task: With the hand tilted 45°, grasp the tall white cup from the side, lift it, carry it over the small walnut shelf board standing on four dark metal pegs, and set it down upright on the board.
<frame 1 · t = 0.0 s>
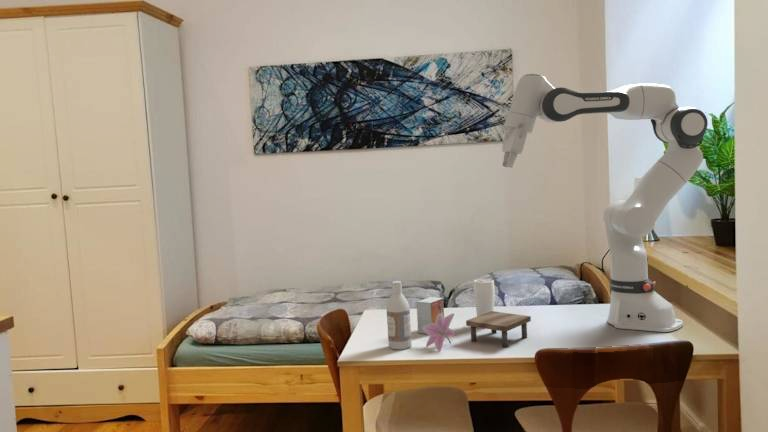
hand: (506, 167, 212), 52 cm above the table, tool tilted 20°, fingers open, 8 cm apart
shelf stand: (499, 339, 204), on the table
bath foam: (400, 347, 202), on the table
lily: (440, 347, 201), on the table
white tall cup: (485, 325, 222), on the table
small box: (431, 331, 218), on the table
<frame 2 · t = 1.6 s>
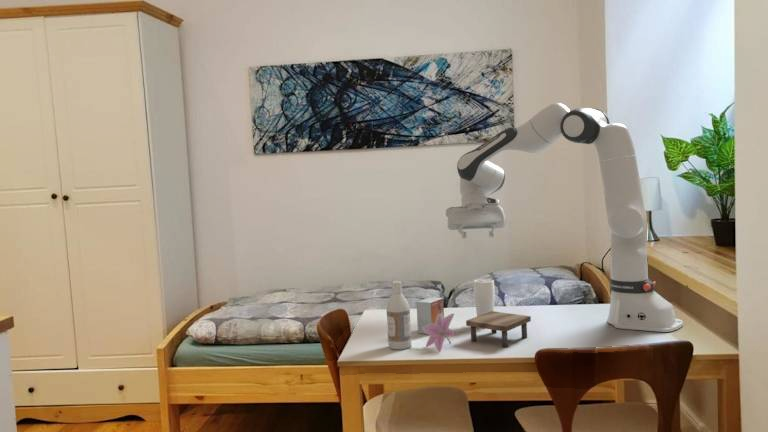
hand: (478, 236, 232), 28 cm above the table, tool tilted 45°, fingers open, 8 cm apart
nothing on the table moved.
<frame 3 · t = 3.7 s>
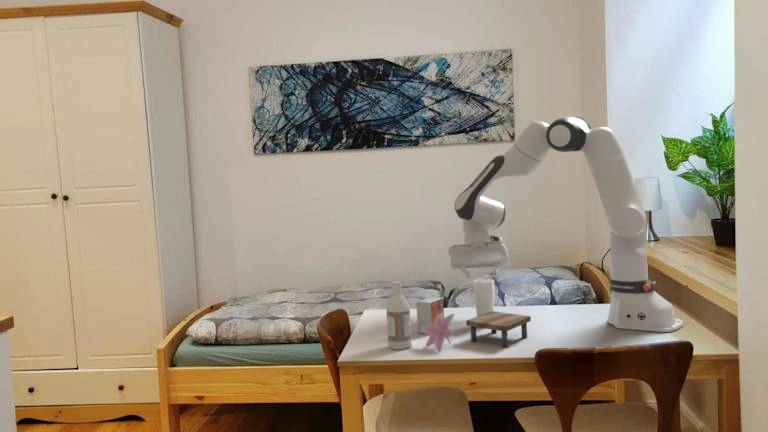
hand: (481, 276, 229), 15 cm above the table, tool tilted 45°, fingers open, 8 cm apart
nothing on the table moved.
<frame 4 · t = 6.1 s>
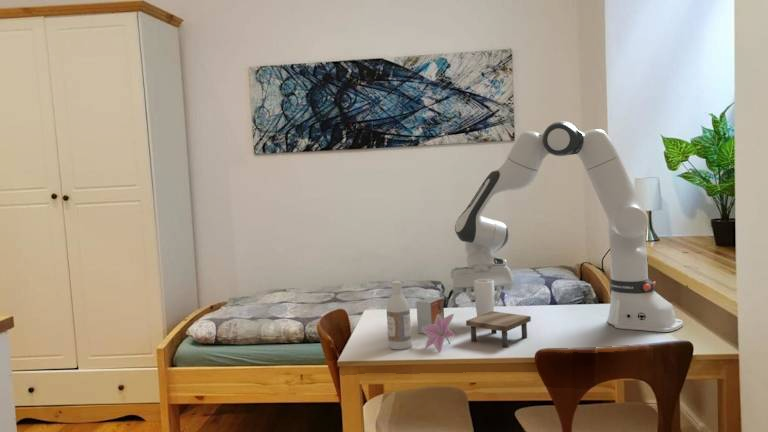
hand: (484, 300, 221), 8 cm above the table, tool tilted 45°, fingers closed on white tall cup, 6 cm apart
white tall cup: (485, 325, 222), on the table, touching gripper
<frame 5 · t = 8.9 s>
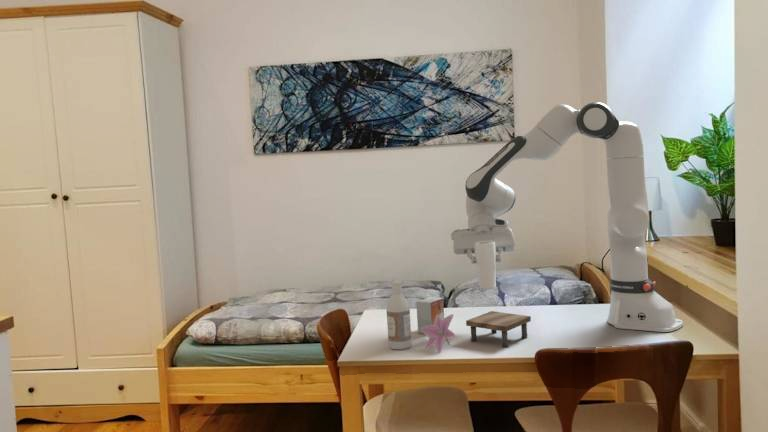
hand: (486, 261, 216), 22 cm above the table, tool tilted 45°, fingers closed on white tall cup, 6 cm apart
white tall cup: (487, 288, 217), point 13 cm above the table, touching gripper
when the fingers open (16 cm above the table, at t = 12.0 s): white tall cup moves 1 cm, resting on shelf stand.
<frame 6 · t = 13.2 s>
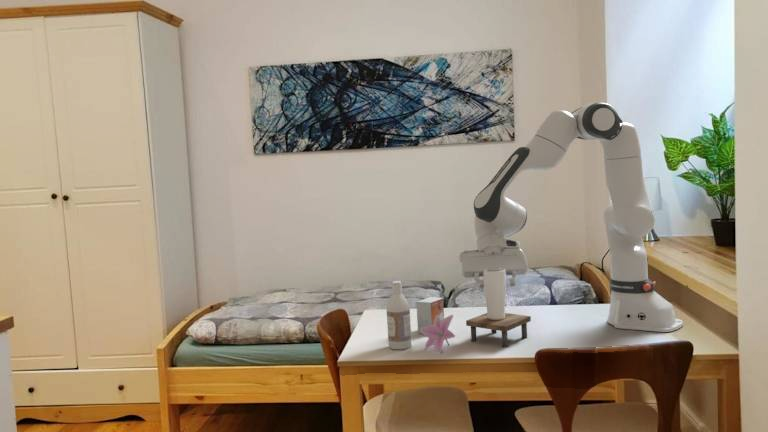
hand: (497, 285, 203), 16 cm above the table, tool tilted 45°, fingers open, 8 cm apart
white tall cup: (496, 319, 204), point 6 cm above the table, touching gripper, shelf stand
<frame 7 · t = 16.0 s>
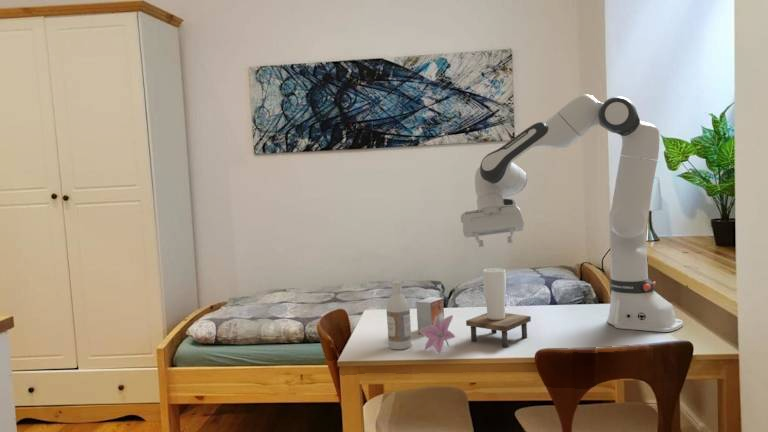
hand: (495, 244, 219), 27 cm above the table, tool tilted 35°, fingers open, 8 cm apart
white tall cup: (496, 319, 204), point 6 cm above the table, touching shelf stand
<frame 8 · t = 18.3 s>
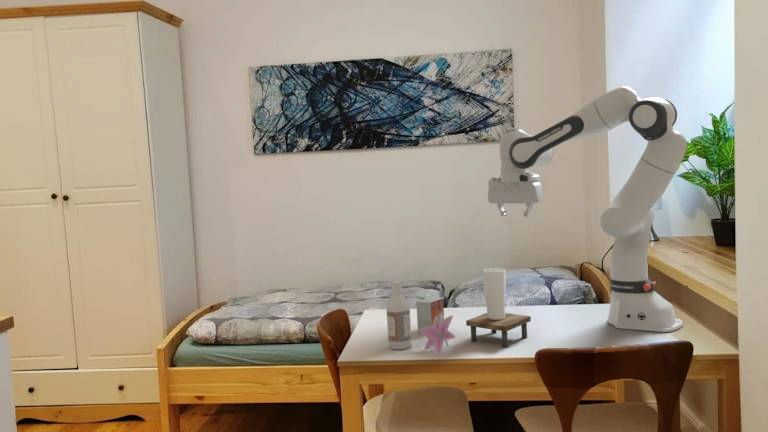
hand: (515, 216, 234), 34 cm above the table, tool pointing down, fingers open, 8 cm apart
at the end: white tall cup inside the target area on the shelf stand (0.7 cm from its centre), point 6.3 cm above the shelf stand's base; white tall cup tilted 0°; the gripper is holding nothing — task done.
